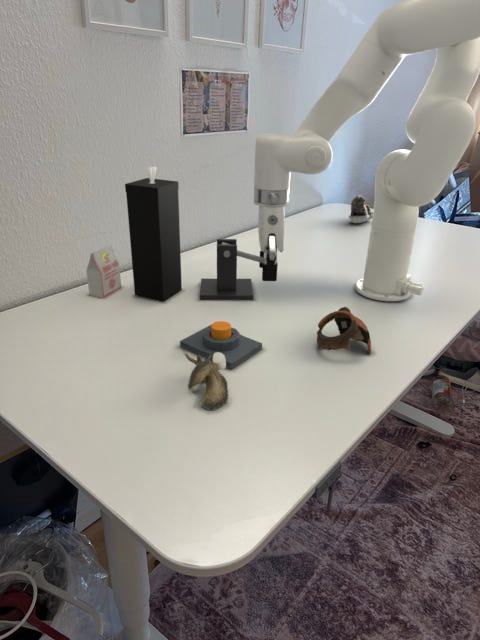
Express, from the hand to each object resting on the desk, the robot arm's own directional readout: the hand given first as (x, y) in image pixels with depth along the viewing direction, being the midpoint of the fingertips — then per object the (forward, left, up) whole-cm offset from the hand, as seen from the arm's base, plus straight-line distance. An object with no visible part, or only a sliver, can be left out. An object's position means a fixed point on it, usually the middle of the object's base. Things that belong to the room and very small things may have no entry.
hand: (267, 273), depth 109 cm
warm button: (-9, +27, -2) cm, 29 cm away
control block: (-9, +27, -4) cm, 29 cm away
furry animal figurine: (-16, +39, -5) cm, 42 cm away
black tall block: (+18, +17, -5) cm, 25 cm away
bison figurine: (+10, -72, -5) cm, 73 cm away
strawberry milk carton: (+28, +24, -5) cm, 37 cm away
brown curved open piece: (-26, +12, -5) cm, 29 cm away
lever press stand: (+7, +6, -4) cm, 10 cm away
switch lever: (+4, +3, +3) cm, 6 cm away
